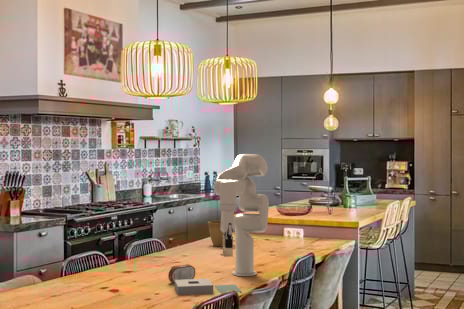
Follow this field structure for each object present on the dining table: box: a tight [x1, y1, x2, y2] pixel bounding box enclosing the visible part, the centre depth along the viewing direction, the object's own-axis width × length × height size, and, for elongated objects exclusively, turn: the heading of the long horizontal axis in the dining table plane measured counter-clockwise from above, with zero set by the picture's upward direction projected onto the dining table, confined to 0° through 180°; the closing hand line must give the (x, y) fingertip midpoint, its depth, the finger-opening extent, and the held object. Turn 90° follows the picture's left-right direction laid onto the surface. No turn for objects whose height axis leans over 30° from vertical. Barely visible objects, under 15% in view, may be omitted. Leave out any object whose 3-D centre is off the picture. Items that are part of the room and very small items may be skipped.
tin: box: [167, 263, 196, 284], centre depth 299 cm, size 15×3×8 cm, turn 131°
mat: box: [214, 284, 242, 294], centre depth 284 cm, size 14×10×1 cm
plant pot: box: [207, 220, 224, 247], centre depth 410 cm, size 15×15×16 cm
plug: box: [222, 236, 234, 258], centre depth 283 cm, size 4×4×9 cm
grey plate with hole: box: [174, 278, 214, 295], centre depth 280 cm, size 14×16×4 cm
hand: (227, 246), depth 283 cm, fingers closed on plug, 4 cm apart
